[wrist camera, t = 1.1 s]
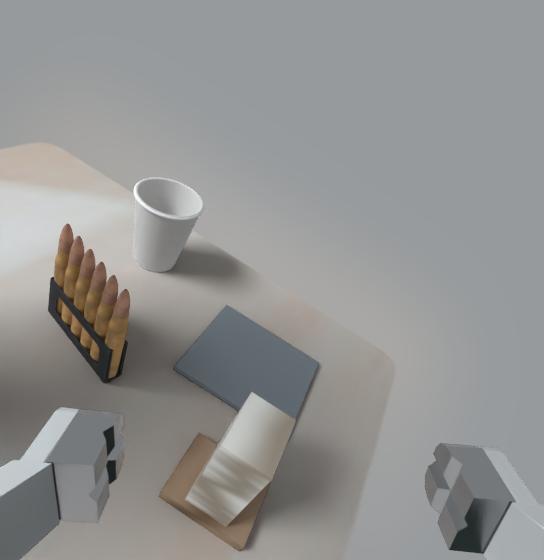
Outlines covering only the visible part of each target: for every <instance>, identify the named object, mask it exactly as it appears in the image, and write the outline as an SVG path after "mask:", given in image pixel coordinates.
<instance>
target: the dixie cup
mask: <svg viewBox="0 0 544 560" xmlns="http://www.w3.org/2000/svg"><path fill="white" fill-rule="evenodd" d="M134 196H135V215H134V237H133V259H134V261H135V262H136V263H137V264H138V265H139V266H140V267H142V268H144V269H146V270H148V271H152V272H165V271H168V270H170V269H172V268H173V267H174V265H175V263H176V261H177V259H178V257H179V255H180V253H181V251H182V249H183V247H184V245H185V243H186V241H187V239H188V237H189V235H190V233H191V231H192V229H193V227H194V225H195V223H196V221H197V219H198V217H199V216H200V215H201V214H202V212H203V210H204V204H203V201H202V199H201V198H200V196H199V195H198V194H197V193H196V192H195V191H194V190H193V189H191V188H190V187H188V186H186V185H185V184H182V183H180V182H177V181H175V180H171V179H167V178H159V177H154V178H147V179H144V180H141V181H140V182H138V183H137V184H136V185H135V187H134Z"/></svg>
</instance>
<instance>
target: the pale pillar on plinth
mask: <svg viewBox="0 0 544 560" xmlns="http://www.w3.org/2000/svg"><path fill="white" fill-rule="evenodd" d="M295 422H296V420H295V419H293V418H292V417H290V416H289V415H287V414H285V413H284V412H282V411H281V410H279V409H278V408H276V407H275V406H273V405H271V404H270V403H268V402H267V401H265V400H264V399H262V398H261V397H259V396H257V395H256V394H254V393H253V392H251V394H250V395H249V397H248V398H247V400H246V401H245V403H244V404H243V406H242V407H241V409H240V410H239V412H238V414H237V415H236V417H235V418H234V420H233V421H232V423H231V424H230V426H229V427H228V429H227V430H226V432H225V433H224V435H223V436H222V438H221V439H220V441H219V442H218V444H216V443H214V442H213V441H211V440H210V439H208V438H207V437H205V436H204V435H202V434H201V433H198V435H197V436H196V438H195V440H194V441H193V443H192V444H191V446H190V447H189V449H188V450H187V452H186V453H185V455H184V457H183V458H182V460H181V461H180V463H179V464H178V466H177V467H176V469H175V470H174V472H173V474H172V475H171V477H170V478H169V480H168V481H167V483H166V484H165V486H164V487H163V489H162V491H161V492H160V494H159V496H158V497H160V498H161V499H163V500H164V501H166V502H167V503H169V504H170V505H171V506H173V507H174V508H176V509H177V510H179V511H180V512H182V513H183V514H185V515H186V516H188V517H189V518H191V519H192V520H194V521H195V522H197V523H198V524H199V525H201V526H202V527H204V528H205V529H207V530H208V531H210V532H211V533H213V534H214V535H216V536H217V537H219V538H220V539H222V540H223V541H225V542H226V543H227V544H229V545H230V546H232V547H233V548H235V549H236V550H238V551H240V550H241V549H243V548H244V546H245V544H246V541H247V539H248V536H249V534H250V531H251V529H252V527H253V524H254V522H255V519H256V517H257V514H258V512H259V510H260V507H261V505H262V502H263V500H264V497H265V495H266V493H267V490H268V488H269V485H270V483H271V480H272V478H273V476H274V474H275V471H276V469H277V466H278V464H279V461H280V459H281V456H282V454H283V452H284V449H285V447H286V444H287V442H288V439H289V437H290V435H291V432H292V430H293V427H294V425H295Z"/></svg>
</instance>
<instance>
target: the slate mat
mask: <svg viewBox="0 0 544 560" xmlns="http://www.w3.org/2000/svg"><path fill="white" fill-rule="evenodd" d="M318 364H319V362H317V361H316V360H314V359H313V358H311V357H309V356H308V355H306V354H305V353H303V352H301V351H300V350H298V349H297V348H295V347H293V346H292V345H290V344H289V343H287V342H285V341H284V340H282V339H281V338H279V337H277V336H276V335H274V334H273V333H271V332H269V331H268V330H266V329H265V328H263V327H261V326H260V325H258V324H257V323H255V322H253V321H252V320H250V319H249V318H247V317H245V316H244V315H242V314H241V313H239V312H237V311H236V310H234V309H233V308H231V307H229V306H228V305H226V307H225V308H224V309H223V310H222V311H221V312H220V314H219V315H218V316H217V317H216V318H215V319H214V321H213V322H212V323H211V324H210V325H209V326H208V328H207V329H206V330H205V331H204V332H203V333H202V335H201V336H200V337H199V338H198V339H197V340H196V342H195V343H194V344H193V345H192V346H191V348H190V349H189V350H188V351H187V352H186V353H185V355H184V356H183V357H182V358H181V359H180V360H179V362H178V363H177V364H176V365H175V367H174V370H176V371H177V372H179V373H180V374H182V375H183V376H185V377H187V378H188V379H190V380H191V381H193V382H194V383H196V384H197V385H199V386H200V387H202V388H204V389H205V390H207V391H208V392H210V393H211V394H213V395H214V396H216V397H217V398H219V399H221V400H222V401H224V402H225V403H227V404H228V405H230V406H231V407H233V408H234V409H236V410H238V411H239V410H240V409H241V407H242V406H243V404H244V403H245V401H246V400H247V398H248V397H249V395H250V394H251V392H253V393H254V394H256V395H257V396H259V397H261V398H262V399H264V400H265V401H267V402H268V403H270V404H271V405H273V406H275V407H276V408H278V409H279V410H281V411H282V412H284V413H285V414H287V415H289V416H290V417H292V418H293V419H296V417H297V414H298V412H299V410H300V407H301V405H302V402H303V400H304V398H305V395H306V393H307V390H308V388H309V385H310V383H311V381H312V378H313V376H314V373H315V371H316V369H317V366H318Z"/></svg>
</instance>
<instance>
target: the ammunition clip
mask: <svg viewBox="0 0 544 560" xmlns="http://www.w3.org/2000/svg"><path fill="white" fill-rule="evenodd" d="M117 296H118V283H117V279H116V277H115V276H114V275H113V276H111V277H110V278H109V280H108V281H107V283H106V268H105V265H104V263H103V262H100V263H99V264H98V265H97V267H96V269H95V257H94V253H93V251H92V250H91V249H89V250H88V251H87V252H86V253H85V255H84V246H83V242H82V239H81V237H80V236H77V237H76V239H75V240H73V233H72V229H71V227H70V225H69V224H66V225H65V226H64V228H63V230H62V232H61V235H60V239H59V247H58V253H57V257H56V259H55V272H54V277H52V278H51V280H50V293H49V306H48V311H49V313H50V314H51V315H52V316H53V318H54V319H55V320H56V322H57V323H58V324H59V326H60V327H61V328H62V329H63V331H64V332H65V333H66V335H67V336H68V337H69V339H70V340H71V341H72V342H73V344H74V345H75V346H76V348H77V349H78V350H79V352H80V353H81V354H82V355H83V357H84V358H85V359H86V361H87V362H88V363H89V364H90V366H91V367H92V368H93V370H94V371H95V372H96V374H97V375H98V376H99V377H100V379H101V380H102V381H103V383H107V382H109V381H111V380H112V379H114V378H116V377H118V376H120V375H121V374H122V368H123V363H124V358H125V354H126V349H127V344H128V343H127V341H126V340H125V337H126V333H127V329H128V315H129V308H130V296H129V292H128V290H127V289H125V290H123V291H122V292H121V294H120V295H119V297H118V299H117Z"/></svg>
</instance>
